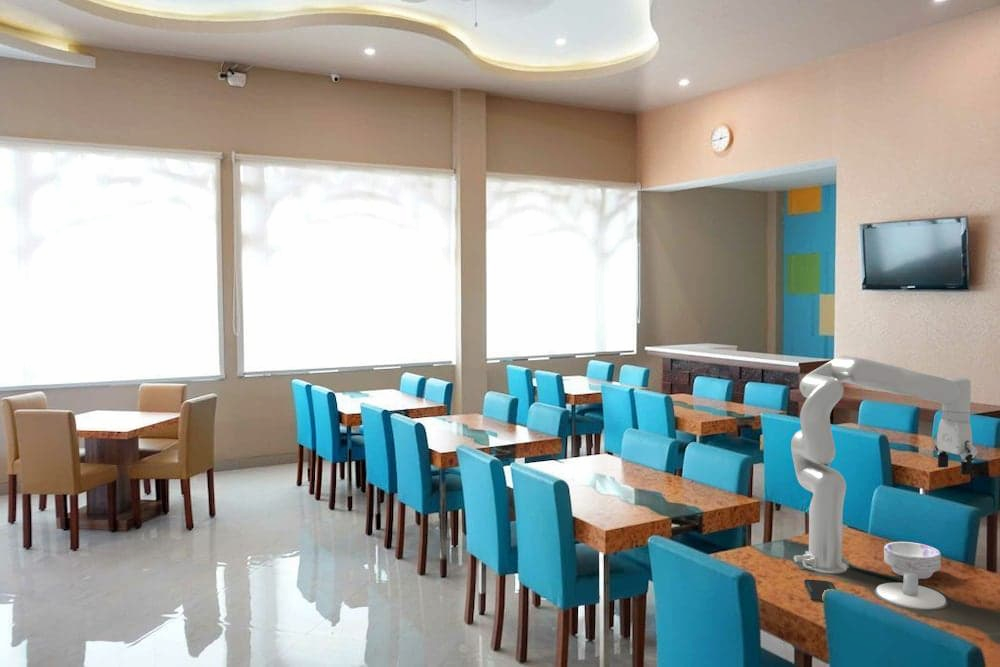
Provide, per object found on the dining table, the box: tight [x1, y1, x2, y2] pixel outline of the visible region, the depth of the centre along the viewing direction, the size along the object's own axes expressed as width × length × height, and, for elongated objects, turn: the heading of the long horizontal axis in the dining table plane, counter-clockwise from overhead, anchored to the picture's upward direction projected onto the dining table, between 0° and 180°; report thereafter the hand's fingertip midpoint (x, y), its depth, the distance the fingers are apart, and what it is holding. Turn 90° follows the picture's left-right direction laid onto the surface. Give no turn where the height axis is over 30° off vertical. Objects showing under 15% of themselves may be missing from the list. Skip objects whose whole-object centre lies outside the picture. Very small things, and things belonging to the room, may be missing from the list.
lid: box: [876, 572, 947, 610], centre depth 212 cm, size 17×17×6 cm
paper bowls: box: [883, 541, 942, 580], centre depth 231 cm, size 15×15×8 cm
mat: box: [874, 587, 948, 611], centre depth 212 cm, size 18×18×1 cm
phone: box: [803, 578, 836, 603], centre depth 217 cm, size 8×1×15 cm
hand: (954, 470), depth 238 cm, fingers open, 9 cm apart
